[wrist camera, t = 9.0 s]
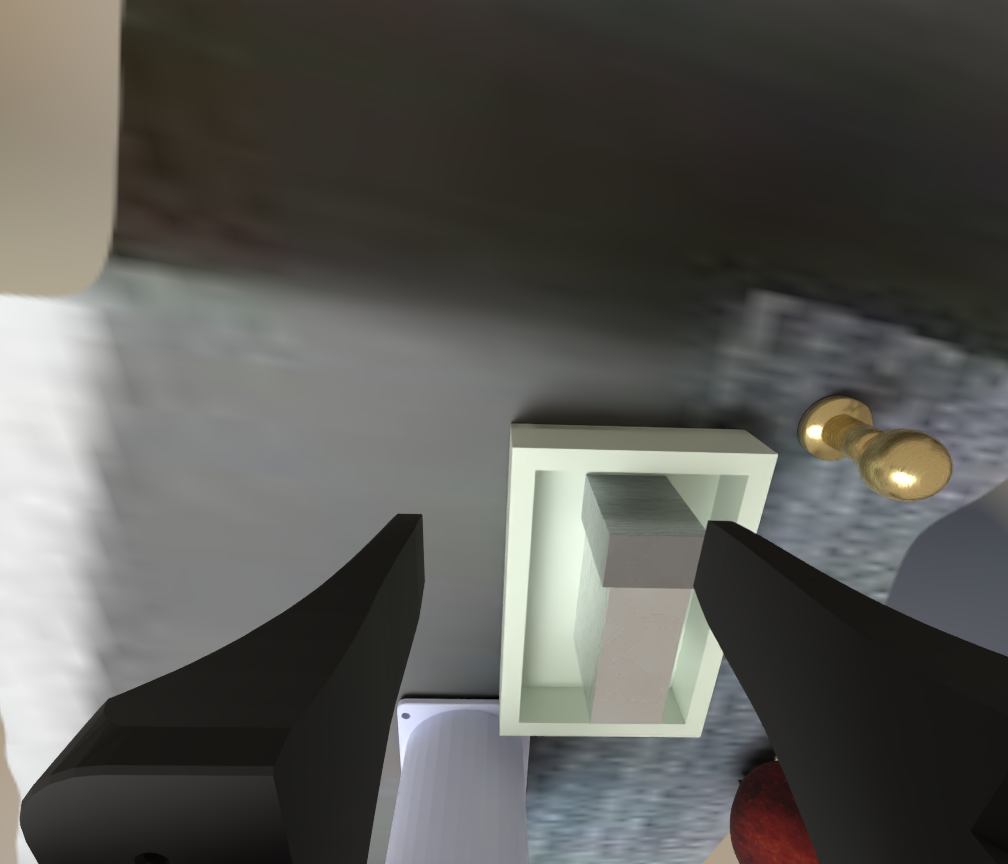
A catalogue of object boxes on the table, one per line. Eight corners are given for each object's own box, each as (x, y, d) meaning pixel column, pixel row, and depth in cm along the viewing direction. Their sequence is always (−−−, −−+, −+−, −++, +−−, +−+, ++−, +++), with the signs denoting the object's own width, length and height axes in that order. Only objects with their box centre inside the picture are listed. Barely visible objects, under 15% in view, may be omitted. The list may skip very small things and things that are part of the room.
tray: (681, 691, 28) (700, 737, 26) (499, 689, 28) (499, 735, 25) (744, 429, 22) (778, 454, 19) (510, 423, 22) (512, 447, 19)
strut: (636, 638, 26) (667, 724, 21) (567, 637, 26) (583, 723, 21) (665, 476, 22) (711, 537, 17) (585, 474, 22) (609, 535, 17)
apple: (805, 809, 33) (896, 976, 25) (696, 807, 32) (755, 975, 25) (839, 737, 30) (953, 899, 22) (720, 733, 30) (796, 896, 22)
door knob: (851, 455, 22) (958, 518, 17) (790, 454, 22) (879, 517, 17) (871, 396, 21) (992, 444, 16) (807, 394, 21) (907, 442, 16)
